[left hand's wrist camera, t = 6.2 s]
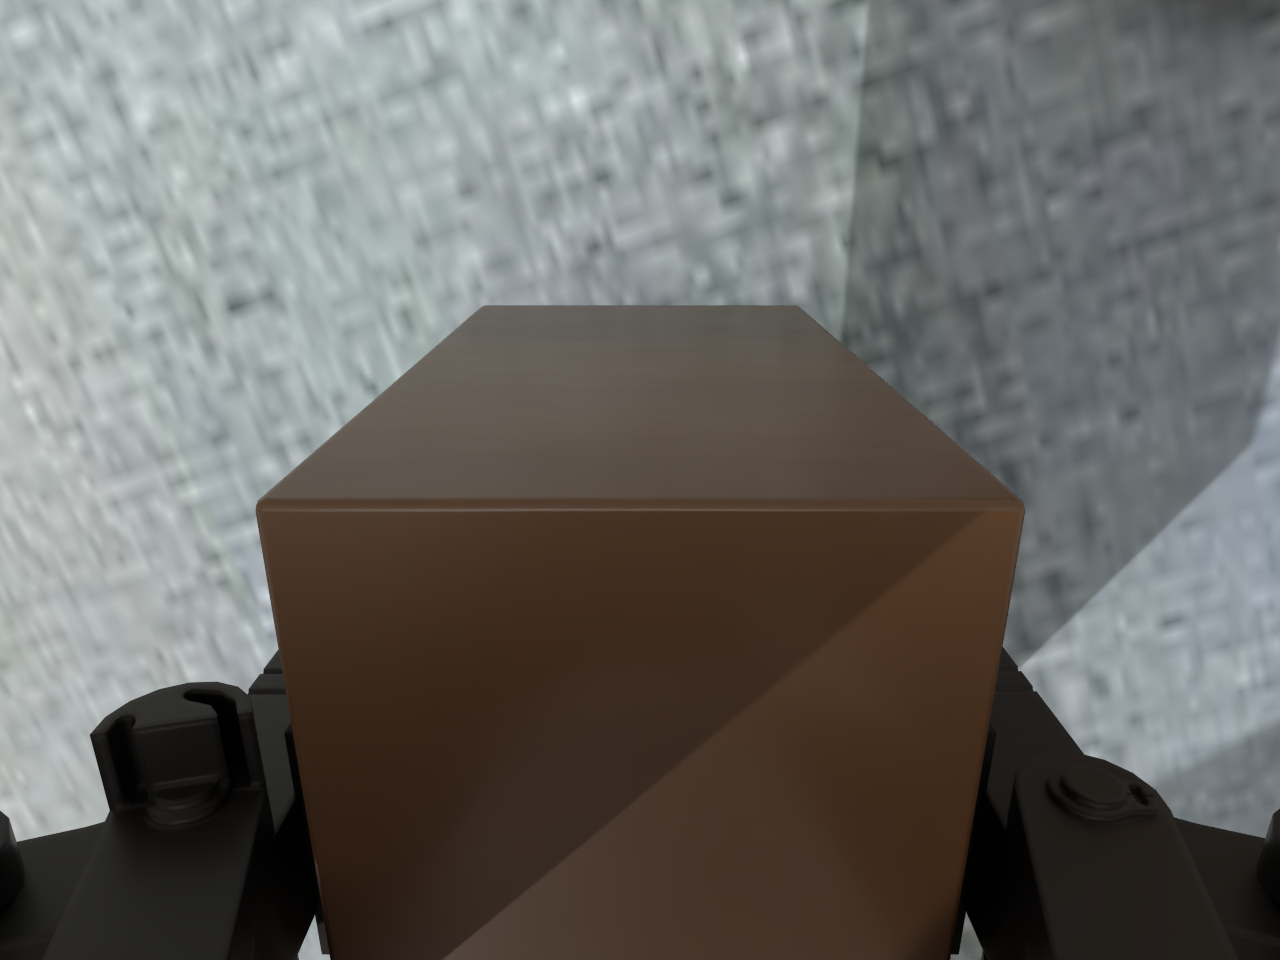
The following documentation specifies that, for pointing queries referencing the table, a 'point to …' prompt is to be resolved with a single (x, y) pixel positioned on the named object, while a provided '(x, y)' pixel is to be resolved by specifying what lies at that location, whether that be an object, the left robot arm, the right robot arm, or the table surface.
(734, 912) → the bar
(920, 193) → the table surface
